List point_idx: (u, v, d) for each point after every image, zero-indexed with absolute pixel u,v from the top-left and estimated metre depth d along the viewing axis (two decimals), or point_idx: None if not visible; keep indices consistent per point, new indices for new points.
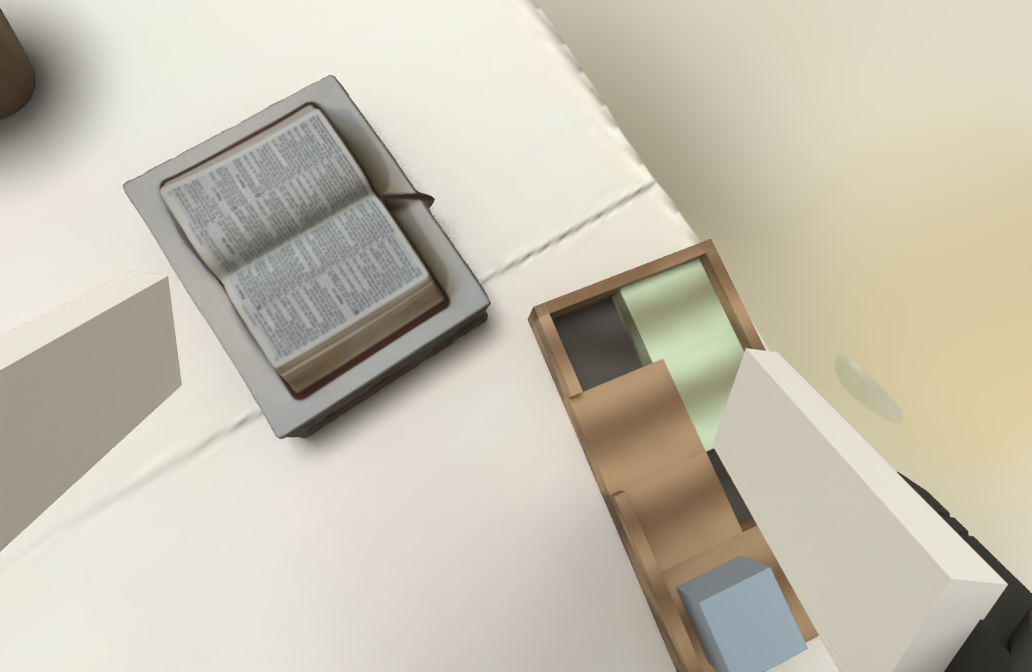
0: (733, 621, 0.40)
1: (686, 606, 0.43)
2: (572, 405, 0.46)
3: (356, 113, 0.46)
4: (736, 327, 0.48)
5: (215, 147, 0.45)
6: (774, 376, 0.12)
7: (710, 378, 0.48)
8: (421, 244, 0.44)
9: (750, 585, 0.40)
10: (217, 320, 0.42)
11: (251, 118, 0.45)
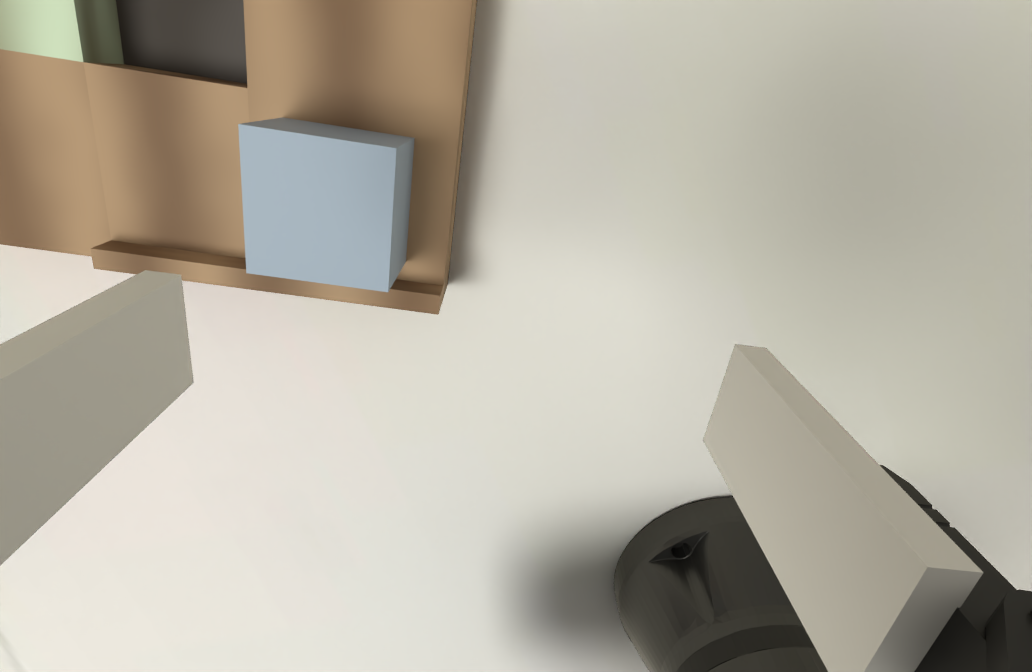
0: (297, 239, 0.23)
1: None
2: None
3: None
4: None
5: None
6: (762, 371, 0.12)
7: None
8: None
9: (254, 178, 0.22)
10: None
11: None
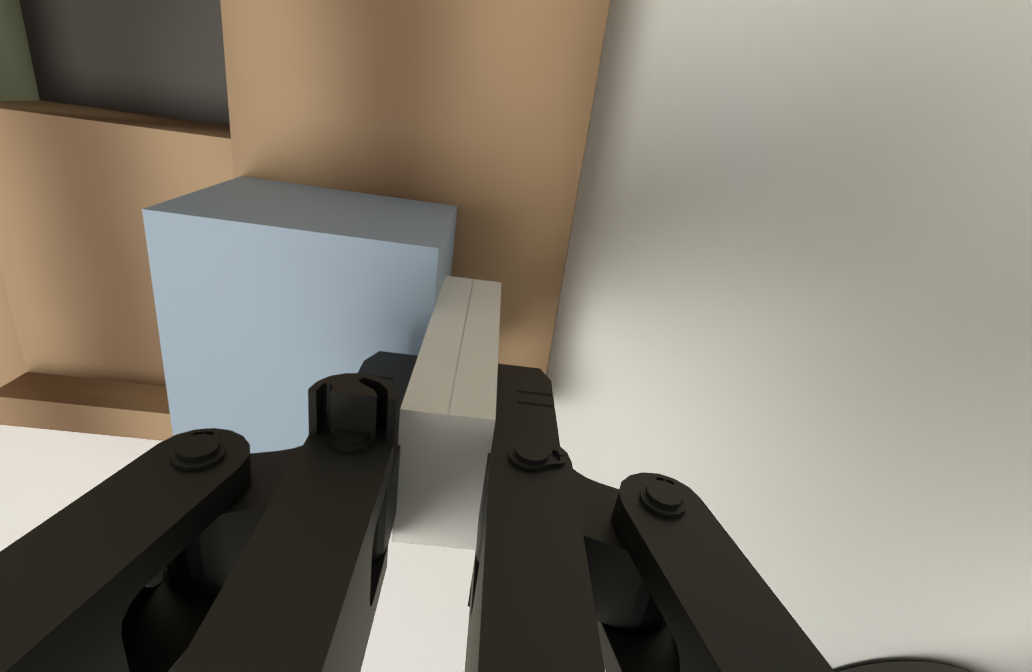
0: (261, 399, 0.13)
1: None
2: None
3: None
4: None
5: None
6: (473, 297, 0.13)
7: None
8: None
9: (180, 302, 0.12)
10: None
11: None
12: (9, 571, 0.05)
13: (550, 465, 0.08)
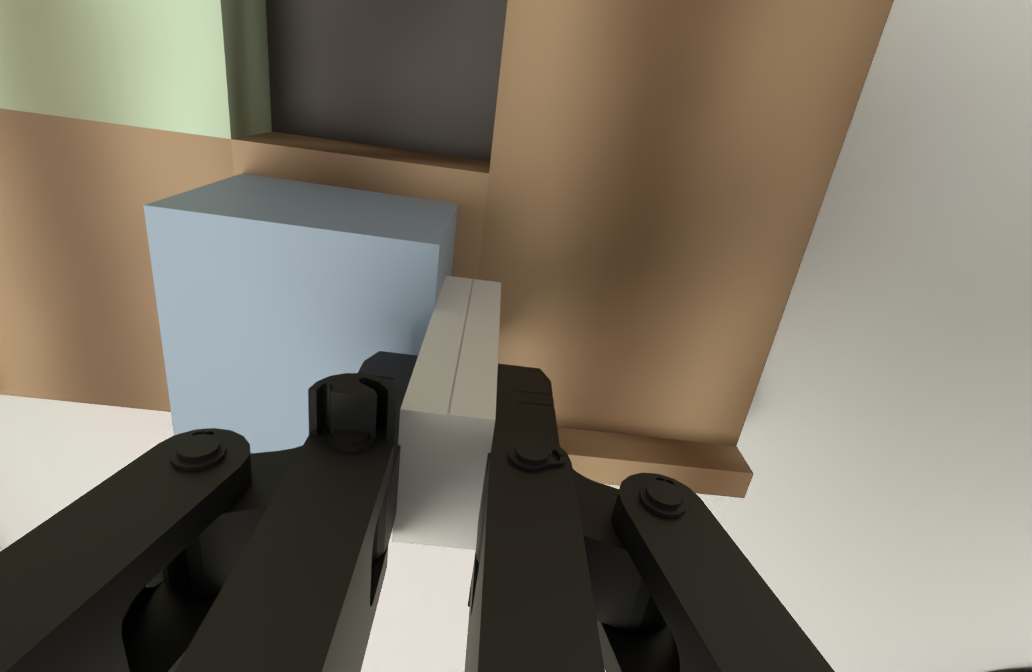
0: (261, 396, 0.13)
1: None
2: (9, 393, 0.18)
3: None
4: None
5: None
6: (473, 297, 0.13)
7: None
8: None
9: (181, 298, 0.12)
10: None
11: None
12: (9, 571, 0.05)
13: (550, 465, 0.08)
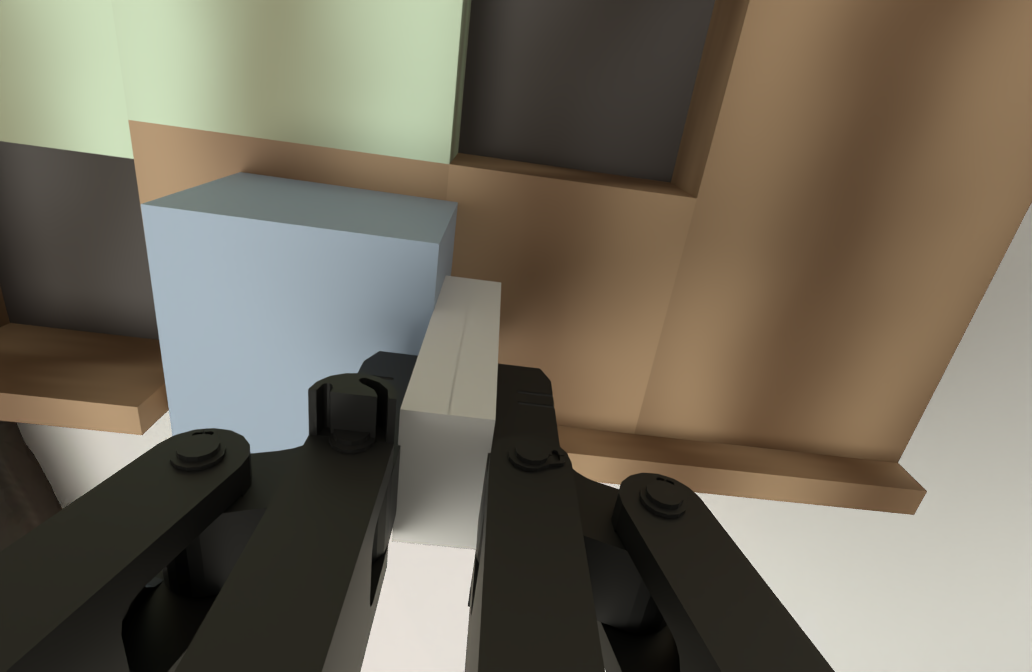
0: (260, 396, 0.13)
1: None
2: None
3: None
4: None
5: None
6: (473, 297, 0.13)
7: (241, 4, 0.14)
8: None
9: (179, 298, 0.12)
10: None
11: None
12: (9, 571, 0.05)
13: (550, 465, 0.08)
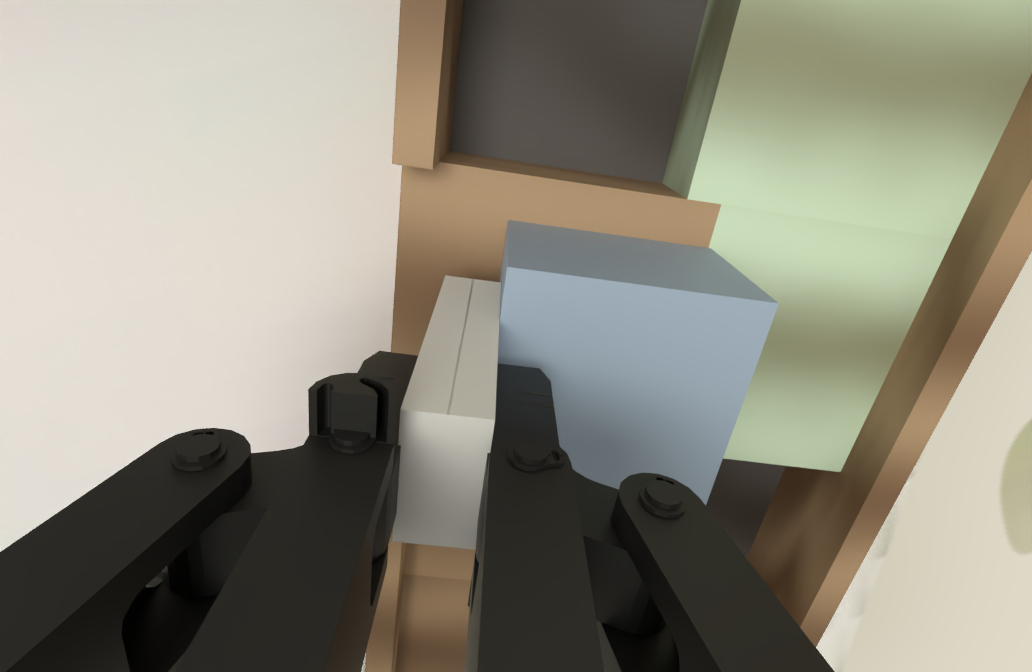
0: (572, 366, 0.13)
1: (501, 272, 0.16)
2: (403, 182, 0.15)
3: None
4: (969, 243, 0.16)
5: None
6: (472, 297, 0.13)
7: (787, 319, 0.17)
8: None
9: (686, 314, 0.12)
10: None
11: None
12: (10, 571, 0.05)
13: (550, 465, 0.08)
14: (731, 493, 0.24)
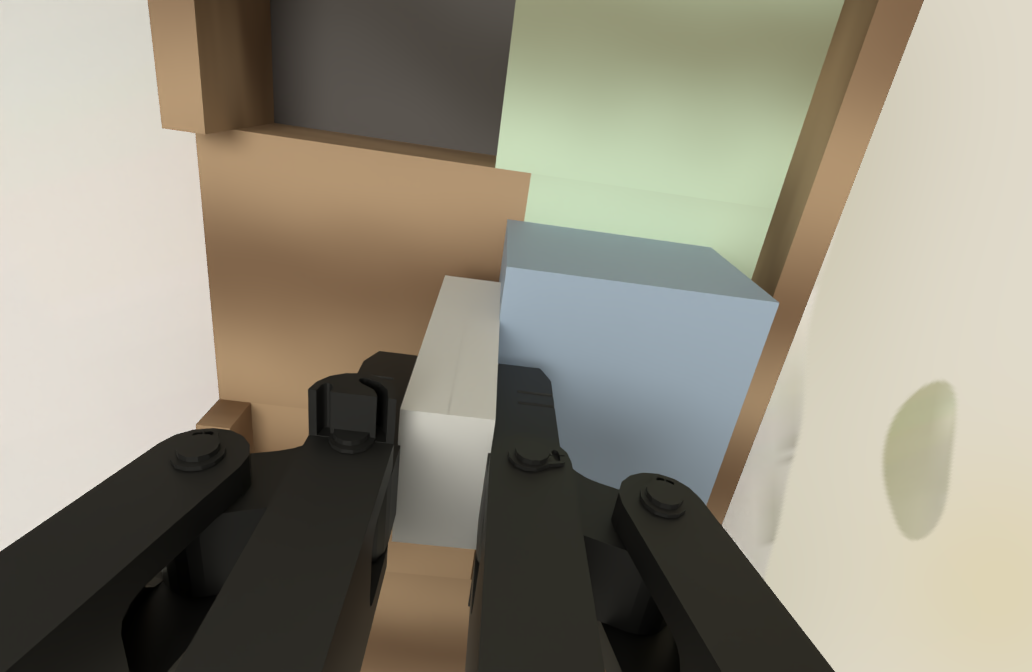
0: (572, 367, 0.13)
1: (501, 272, 0.16)
2: (200, 151, 0.15)
3: None
4: (785, 212, 0.15)
5: None
6: (473, 297, 0.13)
7: None
8: None
9: (686, 314, 0.12)
10: None
11: None
12: (9, 571, 0.05)
13: (550, 465, 0.08)
14: None
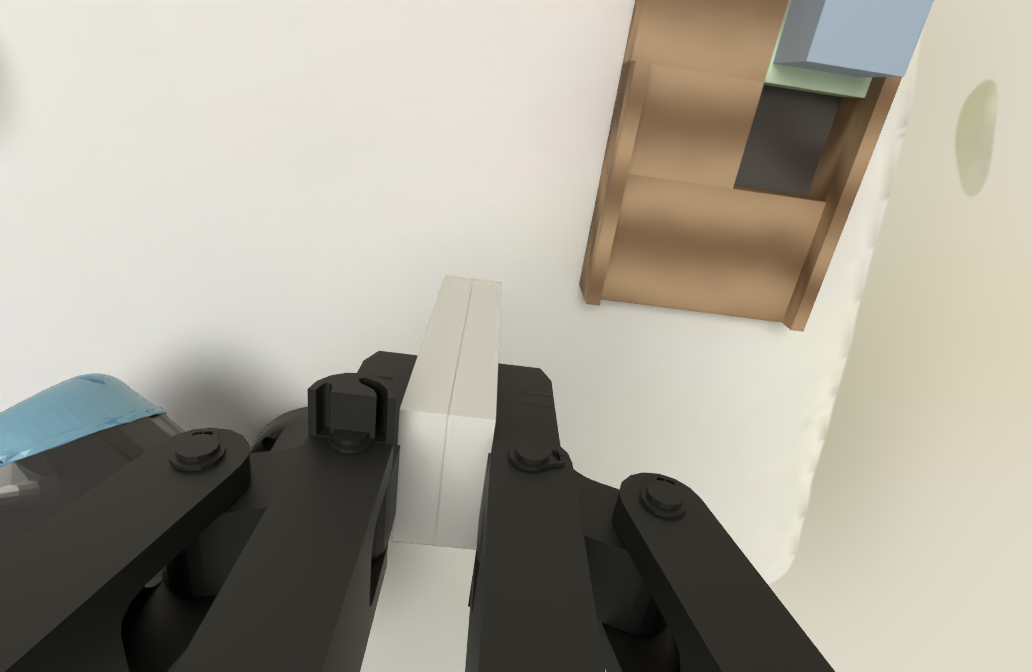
0: None
1: None
2: None
3: None
4: None
5: None
6: (473, 297, 0.13)
7: None
8: None
9: None
10: None
11: None
12: (9, 571, 0.05)
13: (550, 465, 0.08)
14: (800, 145, 0.41)
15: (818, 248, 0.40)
